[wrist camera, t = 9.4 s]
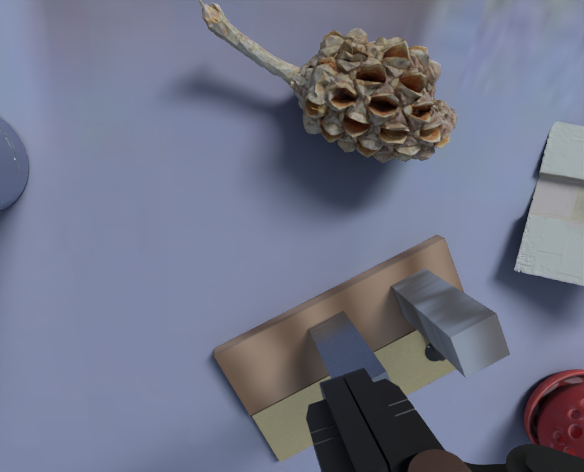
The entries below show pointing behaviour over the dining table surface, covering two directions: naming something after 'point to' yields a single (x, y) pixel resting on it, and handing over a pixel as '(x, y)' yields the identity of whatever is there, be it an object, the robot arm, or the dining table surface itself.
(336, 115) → the pine cone
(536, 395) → the plant pot
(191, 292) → the dining table surface
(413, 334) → the bolt plate
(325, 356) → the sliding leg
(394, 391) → the robot arm
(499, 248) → the dining table surface
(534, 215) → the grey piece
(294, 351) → the base
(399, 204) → the dining table surface
